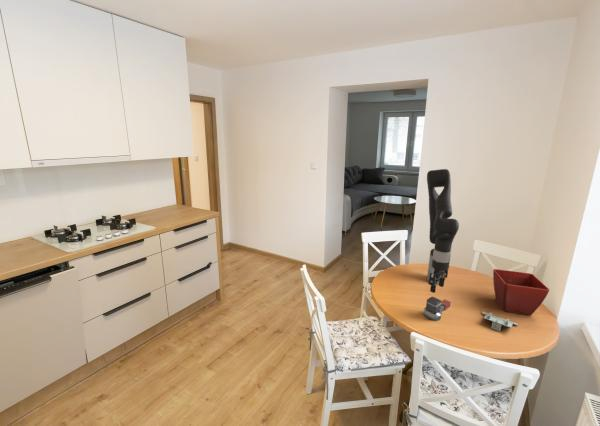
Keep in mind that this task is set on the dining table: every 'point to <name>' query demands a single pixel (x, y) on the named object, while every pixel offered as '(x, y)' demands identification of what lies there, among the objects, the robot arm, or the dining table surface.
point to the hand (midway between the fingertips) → (436, 289)
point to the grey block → (433, 305)
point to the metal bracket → (498, 321)
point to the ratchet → (444, 306)
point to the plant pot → (518, 291)
